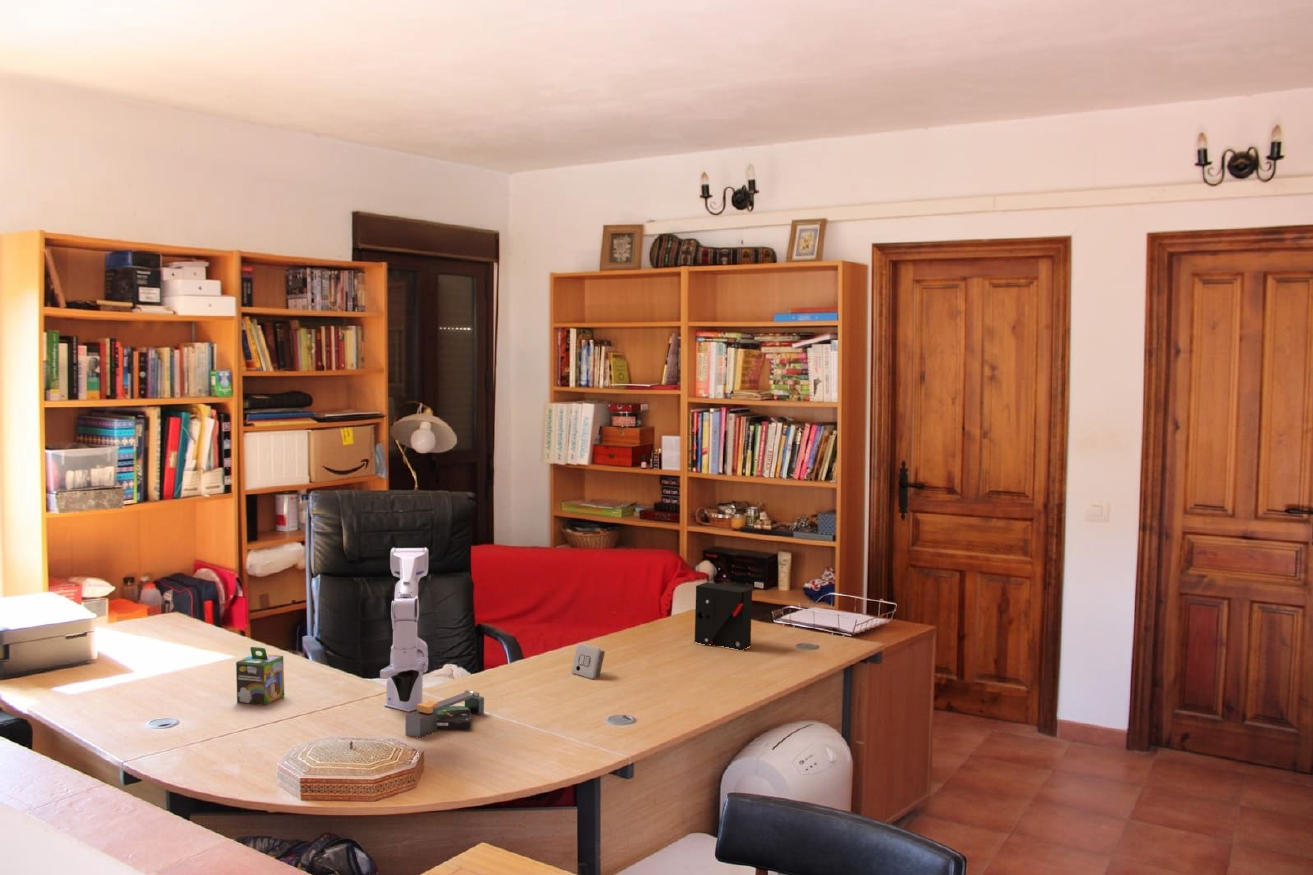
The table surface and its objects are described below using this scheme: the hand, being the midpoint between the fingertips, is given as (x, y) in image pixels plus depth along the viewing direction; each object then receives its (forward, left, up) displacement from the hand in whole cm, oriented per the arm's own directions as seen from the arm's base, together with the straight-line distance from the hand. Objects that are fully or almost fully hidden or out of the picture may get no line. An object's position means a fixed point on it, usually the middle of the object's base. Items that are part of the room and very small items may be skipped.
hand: (404, 700), depth 264 cm
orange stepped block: (0, +8, -5) cm, 10 cm away
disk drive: (0, +17, -10) cm, 20 cm away
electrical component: (+21, +129, -10) cm, 131 cm away
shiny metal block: (0, +15, -10) cm, 18 cm away
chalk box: (-55, +1, -10) cm, 56 cm away
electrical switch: (+4, +73, -10) cm, 74 cm away
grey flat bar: (0, +17, -5) cm, 18 cm away
